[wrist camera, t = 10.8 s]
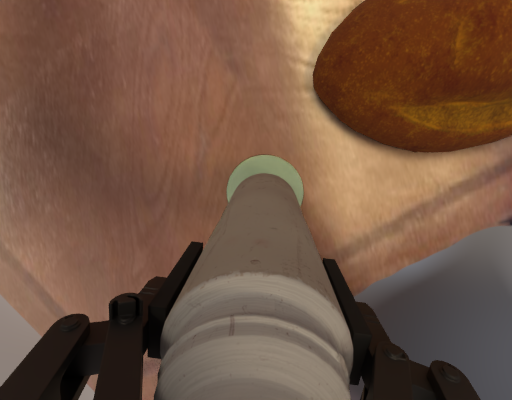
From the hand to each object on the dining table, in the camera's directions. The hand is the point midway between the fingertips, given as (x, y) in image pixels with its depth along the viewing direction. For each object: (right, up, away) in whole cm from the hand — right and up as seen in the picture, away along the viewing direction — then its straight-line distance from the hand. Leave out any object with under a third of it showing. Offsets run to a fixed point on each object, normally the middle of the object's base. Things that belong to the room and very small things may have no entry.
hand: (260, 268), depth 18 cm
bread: (+23, +21, +16) cm, 35 cm away
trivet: (+1, +6, +21) cm, 22 cm away
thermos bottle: (+1, +4, +15) cm, 15 cm away
